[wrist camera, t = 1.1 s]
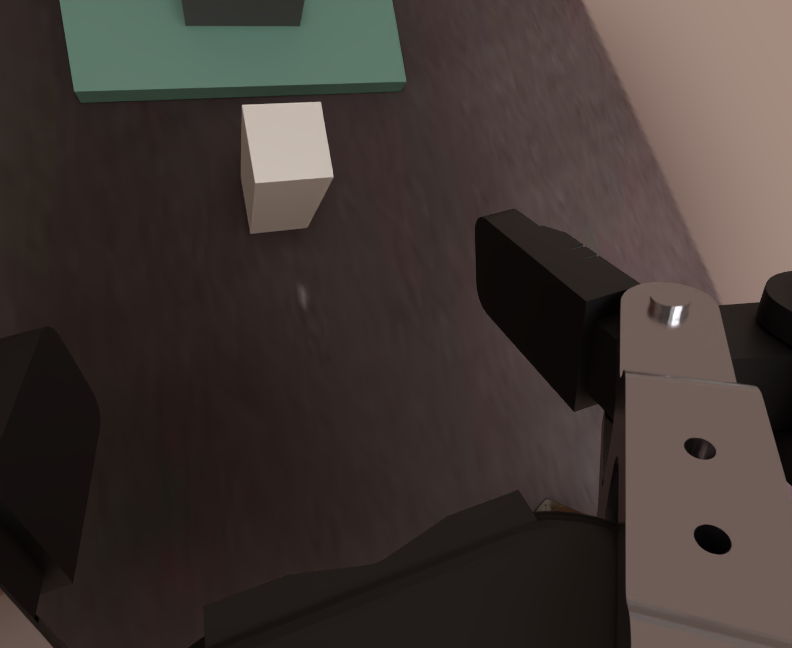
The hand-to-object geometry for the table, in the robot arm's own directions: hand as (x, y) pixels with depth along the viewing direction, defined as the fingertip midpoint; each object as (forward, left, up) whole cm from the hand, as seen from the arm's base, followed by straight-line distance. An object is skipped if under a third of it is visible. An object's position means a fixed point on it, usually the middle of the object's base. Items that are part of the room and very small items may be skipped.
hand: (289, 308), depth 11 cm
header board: (-10, +24, -28) cm, 38 cm away
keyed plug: (-2, +10, -28) cm, 30 cm away
